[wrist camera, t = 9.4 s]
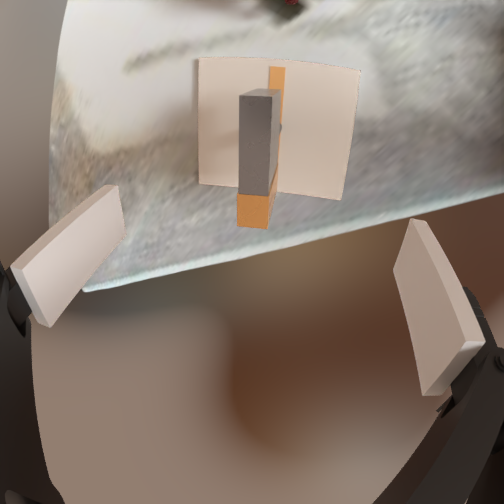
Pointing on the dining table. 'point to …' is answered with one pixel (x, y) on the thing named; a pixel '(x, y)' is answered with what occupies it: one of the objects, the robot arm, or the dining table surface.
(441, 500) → the robot arm
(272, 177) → the grey slab
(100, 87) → the dining table surface
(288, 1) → the mug
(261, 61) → the post base
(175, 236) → the dining table surface
